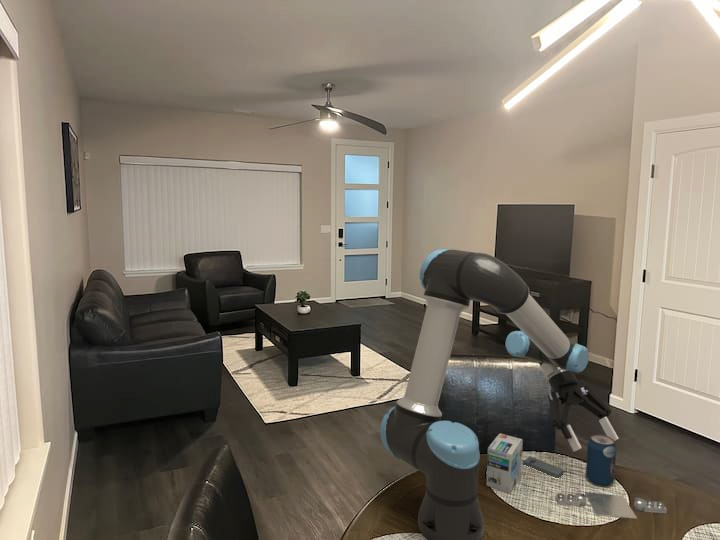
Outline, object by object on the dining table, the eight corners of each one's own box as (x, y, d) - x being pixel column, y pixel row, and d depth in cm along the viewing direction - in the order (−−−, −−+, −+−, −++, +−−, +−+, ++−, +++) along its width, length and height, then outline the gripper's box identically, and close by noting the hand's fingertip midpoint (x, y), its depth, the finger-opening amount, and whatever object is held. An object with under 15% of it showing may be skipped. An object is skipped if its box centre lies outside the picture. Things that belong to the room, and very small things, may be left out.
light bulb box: (510, 494, 131) (512, 454, 130) (485, 486, 135) (486, 447, 133) (521, 475, 140) (523, 438, 139) (497, 468, 144) (499, 432, 142)
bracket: (557, 481, 138) (557, 474, 138) (522, 466, 145) (522, 460, 145) (563, 476, 141) (564, 469, 140) (529, 462, 148) (529, 455, 148)
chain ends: (561, 512, 123) (562, 504, 123) (553, 491, 132) (553, 483, 132) (672, 521, 120) (673, 513, 120) (655, 499, 129) (656, 491, 129)
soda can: (617, 489, 133) (620, 446, 132) (589, 486, 134) (592, 444, 133) (608, 475, 140) (611, 434, 138) (582, 473, 141) (585, 432, 140)
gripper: (583, 375, 158) (620, 441, 147) (519, 386, 149) (553, 458, 137) (598, 364, 153) (638, 432, 141) (532, 374, 143) (569, 449, 132)
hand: (596, 445), depth 139 cm, fingers open, 13 cm apart
